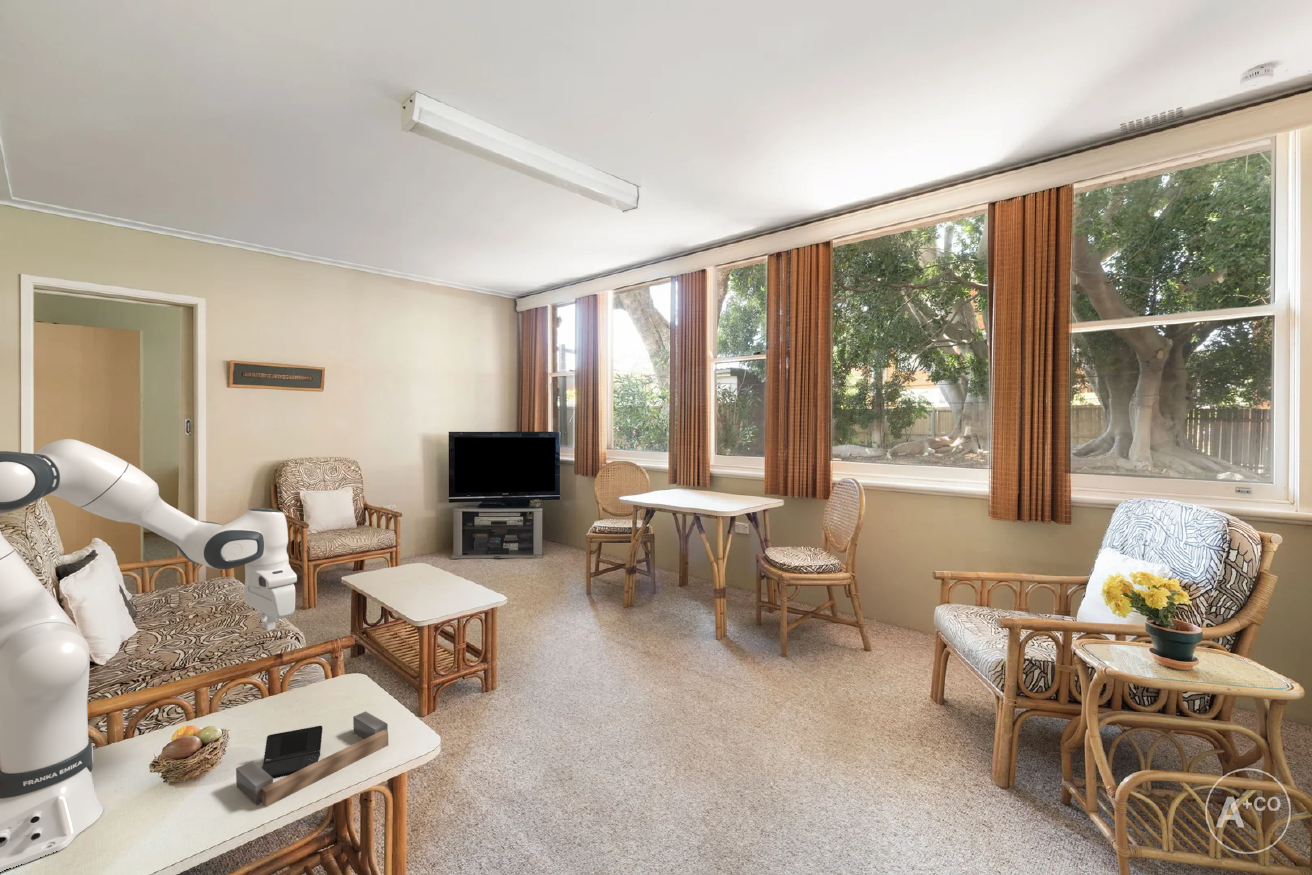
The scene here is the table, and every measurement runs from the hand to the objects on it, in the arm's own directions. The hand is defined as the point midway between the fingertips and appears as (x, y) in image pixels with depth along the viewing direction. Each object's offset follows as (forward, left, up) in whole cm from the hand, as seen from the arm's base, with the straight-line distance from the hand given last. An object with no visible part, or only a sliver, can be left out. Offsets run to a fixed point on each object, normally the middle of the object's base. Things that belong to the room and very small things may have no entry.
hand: (269, 628), depth 136 cm
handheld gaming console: (-4, -20, -26) cm, 33 cm away
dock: (0, -25, -25) cm, 35 cm away
